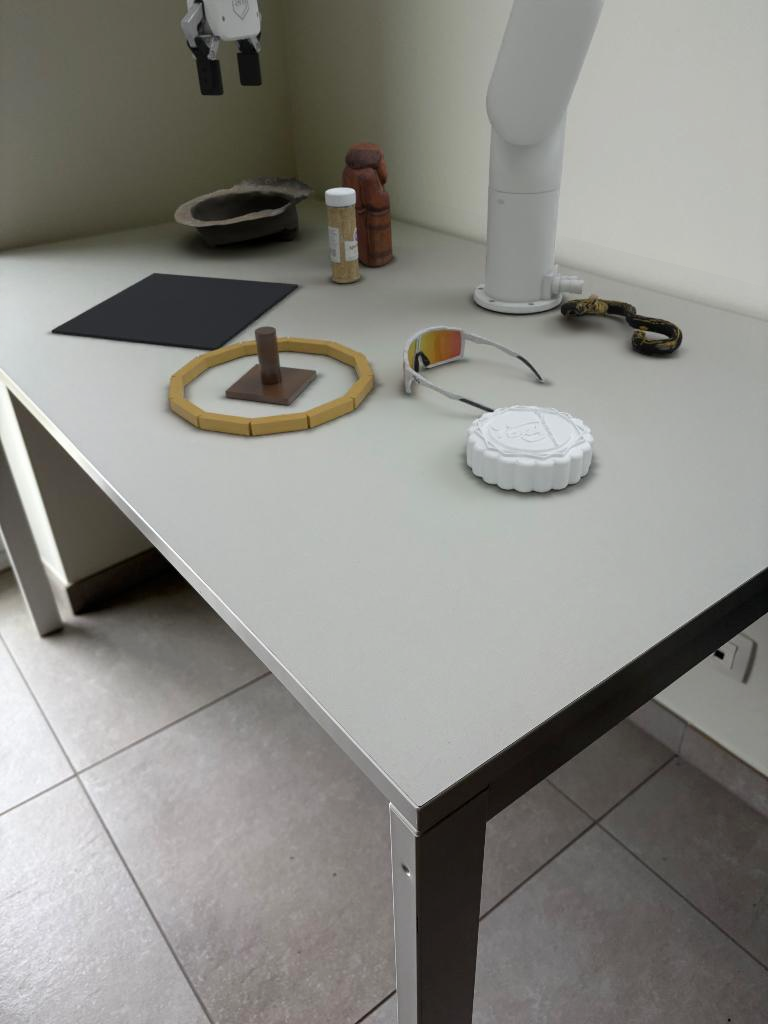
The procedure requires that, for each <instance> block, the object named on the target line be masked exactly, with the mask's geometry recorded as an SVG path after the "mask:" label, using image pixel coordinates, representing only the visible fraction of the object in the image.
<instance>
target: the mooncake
mask: <svg viewBox="0 0 768 1024" xmlns="http://www.w3.org/2000/svg"><path fill="white" fill-rule="evenodd" d="M594 441H595V438H594V437H593V435H592V430H591V428H590V427H588V426H587V425H585V424H584V422H583V420H581V419H580V418H577V417H573V416H572V414H570V412H566V411H559V410H557V409H556V408H554V407H540V406H537V405H528V406H525V405H519V404H516V405H513V406H510V407H498V408H496V410H494V411H493V412H484V413H482V414H481V416H480V417H479V418H475V419H474V420H473V421H472V422H471V426H469V427H468V428H467V430H466V450H465V451H466V453H465V454H466V464H467V466H468V467H469V468H471V471H472V473H473V475H475V476H476V477H479V478H482V480H483V481H484V482H485V483H487V484H489V485H497V486H498V487H499V488H501V489H503V490H508V491H509V490H515V491H517V492H520V493H530V492H537V493H547V492H549V491H551V490H556V491H557V490H563V489H565V488H567V486H568V485H574V484H578V482H580V480H581V478H582V477H585V476H586V475H587V474H588V473H589V469H590V466H591V464H592V459H593V457H592V456H593V449H594Z"/></svg>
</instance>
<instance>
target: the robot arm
mask: <svg viewBox="0 0 768 1024" xmlns="http://www.w3.org/2000/svg"><path fill="white" fill-rule="evenodd" d="M604 4H605V0H513V3H512V6H511V10H510V13H509V16H508V20H507V23H506V27H505V29H504V33H503V37H502V39H501V44H500V47H499V50H498V53H497V57H496V59H495V63H494V68H493V70H492V72H491V77H490V80H489V83H488V87H487V91H486V97H485V107H486V114H487V118H488V121H489V123H490V125H491V129H490V146H489V147H490V148H489V165H488V166H489V168H488V189H487V214H486V215H487V218H486V245H485V246H486V248H485V274H484V275H485V276H484V277H485V278H484V282H483V283H481V284H479V285H478V286H476V287H475V289H474V291H473V300H474V302H475V303H476V304H477V305H479V306H480V307H482V308H484V309H487V310H490V311H494V312H497V313H498V312H499V313H504V314H505V313H506V314H534V313H539V312H544V311H548V310H551V309H553V308H555V307H557V306H558V305H560V304H561V302H562V300H563V293H569V294H572V295H583V293H584V288H585V279H579V278H578V277H579V276H578V275H564V274H563V275H562V273H561V272H558V271H559V264H557V263H555V253H556V240H557V229H558V228H557V227H558V216H559V205H560V204H559V203H560V193H561V192H560V191H561V186H562V185H561V183H562V174H563V173H562V172H563V161H564V148H565V134H566V124H567V114H568V106H569V104H570V101H571V98H572V95H573V93H574V90H575V87H576V85H577V82H578V80H579V76H580V73H581V71H582V68H583V65H584V62H585V59H586V57H587V54H588V52H589V50H590V46H591V42H592V40H593V37H594V34H595V32H596V29H597V26H598V23H599V20H600V17H601V15H602V11H603V7H604ZM186 5H187V12H186V14H185V15H184V16H183V18H182V19H181V21H180V28H181V31H182V32H183V35H184V37H185V39H186V45H187V47H188V48H189V50H190V51H191V56H192V59H193V61H195V63H196V70H197V71H196V72H197V77H198V83H199V91H200V94H201V96H214V97H215V96H216V97H217V96H218V97H219V96H223V95H224V93H225V92H224V83H223V77H222V70H221V63H220V59H216V57H217V54H218V49H219V47H220V46H219V45H220V41H221V40H222V41H224V42H232V41H233V42H234V44H235V45H236V47H237V49H238V51H239V52H236V61H237V68H238V75H239V84H240V85H241V86H243V87H260V86H262V84H263V79H262V71H261V61H260V52H261V51H260V50H261V44H260V40H261V37H262V32H261V28H262V27H261V26H262V18H263V17H262V13H261V12H260V11H259V6H258V0H186ZM207 44H208V45H207Z"/></svg>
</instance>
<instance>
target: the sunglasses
mask: <svg viewBox="0 0 768 1024" xmlns="http://www.w3.org/2000/svg"><path fill="white" fill-rule="evenodd" d="M466 341H470V342H472V343H474V344H477V345H487V346H491V347H494V348H497V349H498V350H500V351H502V352H504V353H505V354H506V355H509V356H511V357H514V358H516V359H517V360H519V361H521V362H522V363H523V364H524V365H525V366H526V367H528V369H530V371H532V373H533V374H534V375H535V377H536V378H537V379H538V380H539V382H540V383H545V382H546V379H545V378H544V376H543V375H542V374H541V372H540V371H539V370H538V369H537V367H536V366H535V365H534V363H532V362H531V361H530V360H529V359H528V358H527V357H525V356H524V355H523V354H521V353H520V351H516V350H514V349H512V348H510V347H507V346H505V345H503V344H501V343H498V342H496V341H494V340H492V339H489V338H487V337H484V336H481V335H478V334H475V333H473V332H468V331H466V330H464V329H463V328H461V327H457V326H446V325H433V326H430V327H425V328H423V329H420V330H418V331H417V332H415V333H413V335H411V336H410V337H409V339H408V340H407V341H406V343H405V344H404V347H403V352H402V353H403V354H402V356H403V365H402V368H403V369H402V371H403V378H404V385H405V392H406V394H411V393H412V390H411V386H412V383H413V382H414V383H415V384H417V385H418V386H419V385H420V386H423V387H426V388H429V389H431V390H434V391H435V392H438V393H439V394H440V395H443V396H444V397H446V398H448V399H450V400H454V401H457V402H461V403H463V404H466V405H469V406H472V407H474V408H476V409H479V410H482V411H483V412H485V413H488V412H493V411H494V410H496V409H497V408H496V409H495V408H493V407H492V406H489V405H486V404H484V403H481V402H479V401H476V400H474V399H471V398H469V397H467V396H465V395H462V394H458V393H455V392H452V391H449V390H447V389H445V388H442V387H440V386H438V385H437V384H435V383H433V382H431V381H430V380H428V379H426V378H425V377H423V376H422V375H421V374H419V372H420V363H421V365H422V366H423V367H424V368H425V369H431V368H435V367H437V366H440V365H444V364H448V363H451V362H454V361H457V360H460V359H463V357H464V355H465V349H466Z"/></svg>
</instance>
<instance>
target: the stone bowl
mask: <svg viewBox="0 0 768 1024" xmlns="http://www.w3.org/2000/svg"><path fill="white" fill-rule="evenodd" d="M314 193H315V189H314V188H313V187H311V186H309V185H308V183H307V182H306V183H304V181H303V180H299V179H297V177H296V176H293V177H290V178H280V177H276V178H275V177H273V176H272V177H271V176H266V177H259V176H257V177H252V178H247V179H243V180H242V181H241V182H239V183H237V184H233V186H232V187H231V188H227V189H226V188H223V189H218V190H215V191H213V192H210V193H206V194H203V195H200V196H196V197H194V198H193V199H191V200H189V201H186V202H184V203H183V204H180V205H178V206H177V209H176V210H175V212H174V215H173V217H174V220H175V222H177V223H179V224H181V225H184V226H189V227H190V226H191V227H195V228H196V230H197V231H198V233H199V235H201V237H202V239H203V240H204V242H205V243H206V244H207V245H209V246H210V247H213V248H215V247H217V246H222V245H229V244H233V243H234V244H235V243H238V242H243V241H250V240H253V239H259V238H260V237H266V236H270V237H272V238H276V237H277V236H278V237H279V238H281V239H283V240H284V241H289V240H294V239H297V237H298V235H299V230H300V222H299V215H298V210H297V206H296V205H298V204H300V203H301V202H302V201H304V200H307V199H308V198H309V196H310V194H314Z"/></svg>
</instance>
